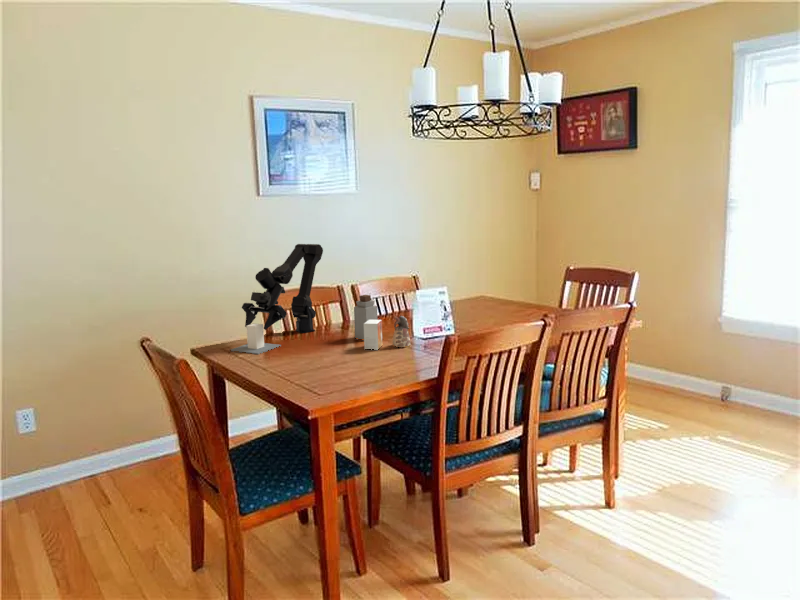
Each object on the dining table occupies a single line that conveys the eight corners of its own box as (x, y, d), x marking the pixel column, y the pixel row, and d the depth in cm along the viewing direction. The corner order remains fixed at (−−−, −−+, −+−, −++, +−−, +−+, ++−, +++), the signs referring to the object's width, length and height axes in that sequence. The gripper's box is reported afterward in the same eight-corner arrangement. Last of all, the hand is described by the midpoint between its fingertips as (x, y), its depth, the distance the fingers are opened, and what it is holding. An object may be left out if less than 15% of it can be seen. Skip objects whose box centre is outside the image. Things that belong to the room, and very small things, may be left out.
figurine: (412, 347, 246) (412, 317, 244) (394, 348, 245) (394, 318, 243) (408, 343, 253) (408, 313, 251) (391, 344, 252) (390, 314, 249)
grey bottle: (378, 337, 263) (376, 295, 260) (367, 341, 258) (365, 297, 255) (366, 335, 267) (364, 293, 264) (355, 338, 262) (353, 296, 259)
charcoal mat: (253, 342, 259) (253, 341, 259) (281, 346, 253) (281, 344, 253) (229, 350, 247) (229, 349, 247) (258, 354, 241) (258, 353, 241)
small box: (378, 350, 242) (377, 323, 240) (364, 350, 243) (363, 323, 242) (383, 345, 250) (382, 319, 248) (369, 345, 251) (368, 319, 249)
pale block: (255, 345, 253) (254, 323, 251) (264, 346, 251) (262, 324, 249) (247, 348, 249) (246, 325, 247) (256, 349, 247) (255, 326, 245)
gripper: (243, 282, 255) (225, 314, 247) (280, 285, 246) (263, 318, 239) (257, 299, 263) (240, 330, 255) (293, 301, 255) (277, 334, 247)
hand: (255, 328), depth 249 cm, fingers open, 9 cm apart
